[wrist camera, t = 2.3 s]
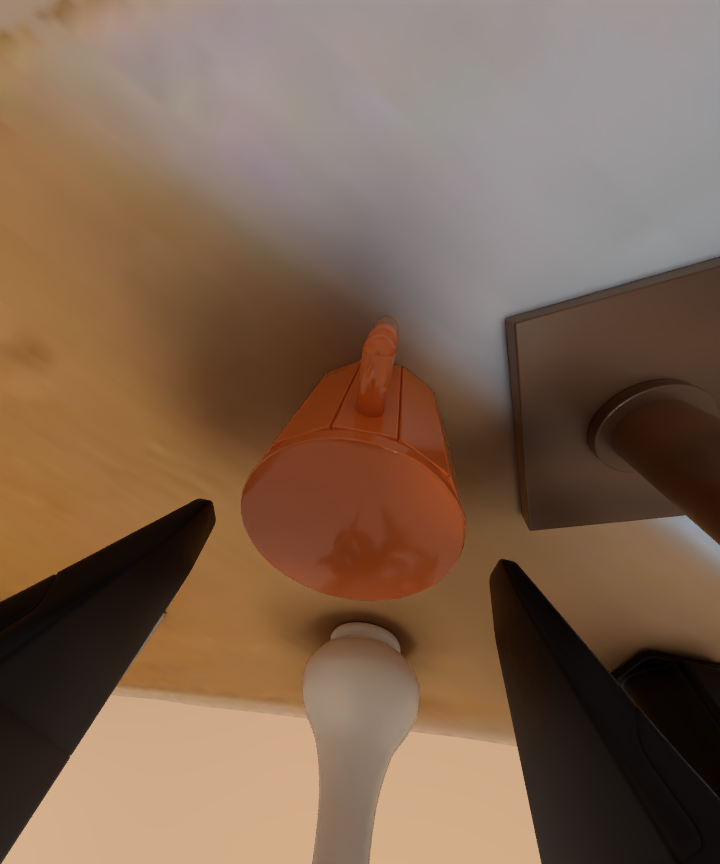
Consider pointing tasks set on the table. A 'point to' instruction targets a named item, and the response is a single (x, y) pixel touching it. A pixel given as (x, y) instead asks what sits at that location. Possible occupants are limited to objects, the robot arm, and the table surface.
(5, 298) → the table surface
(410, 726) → the flower vase
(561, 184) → the table surface
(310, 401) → the orange cup
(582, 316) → the cup stand
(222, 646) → the table surface
